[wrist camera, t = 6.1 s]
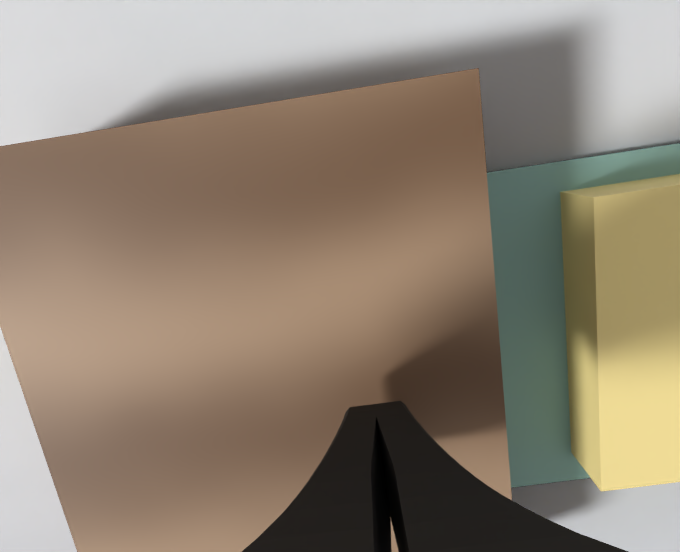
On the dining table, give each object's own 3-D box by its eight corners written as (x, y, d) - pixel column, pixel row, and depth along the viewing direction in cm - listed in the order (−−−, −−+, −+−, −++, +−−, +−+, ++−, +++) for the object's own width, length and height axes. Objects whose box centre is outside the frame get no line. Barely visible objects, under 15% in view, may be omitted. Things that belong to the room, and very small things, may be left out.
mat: (735, 453, 17) (741, 459, 17) (479, 485, 17) (481, 491, 17) (752, 131, 14) (760, 131, 14) (449, 178, 15) (452, 178, 14)
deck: (484, 543, 18) (523, 650, 14) (171, 580, 18) (125, 693, 15) (441, 92, 14) (478, 68, 10) (48, 155, 15) (-58, 155, 11)
